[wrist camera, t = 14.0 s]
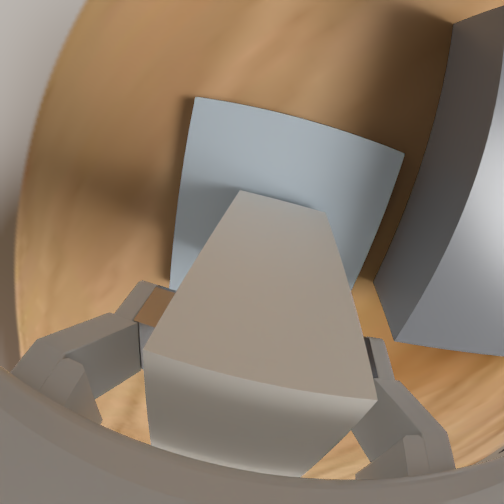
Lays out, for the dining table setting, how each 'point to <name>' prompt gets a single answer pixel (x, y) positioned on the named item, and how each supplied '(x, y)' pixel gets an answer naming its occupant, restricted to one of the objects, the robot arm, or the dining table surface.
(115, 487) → the robot arm
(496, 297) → the block
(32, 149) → the dining table surface
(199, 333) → the plug
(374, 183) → the mat
